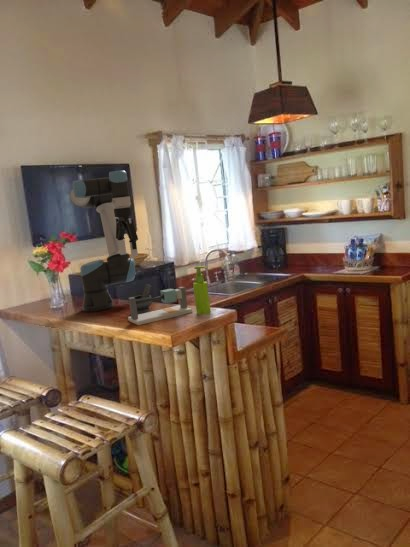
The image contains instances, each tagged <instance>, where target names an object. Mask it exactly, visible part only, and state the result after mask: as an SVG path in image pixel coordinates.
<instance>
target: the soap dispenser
mask: <svg viewBox="0 0 410 547" xmlns="http://www.w3.org/2000/svg"><path fill="white" fill-rule="evenodd" d="M207 268H208V266H206V265H205V266H204V265H198V266H195V267H194V269H195V270H196V274H195V275H194V276H195V282H193V284H192V286H193V293H194V300H195V302H194V303H195V310H196V315H198V314H205V315H208V314H207V313H209V314H211V313H212V311H211V304H210V302H211V301H210V297H209V296H210V295H209V288H208V281H205V278H204V274H203V273H202V272H201V271H202V270H201V269H207ZM194 269H193V270H194ZM210 312H211V313H210Z"/></svg>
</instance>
